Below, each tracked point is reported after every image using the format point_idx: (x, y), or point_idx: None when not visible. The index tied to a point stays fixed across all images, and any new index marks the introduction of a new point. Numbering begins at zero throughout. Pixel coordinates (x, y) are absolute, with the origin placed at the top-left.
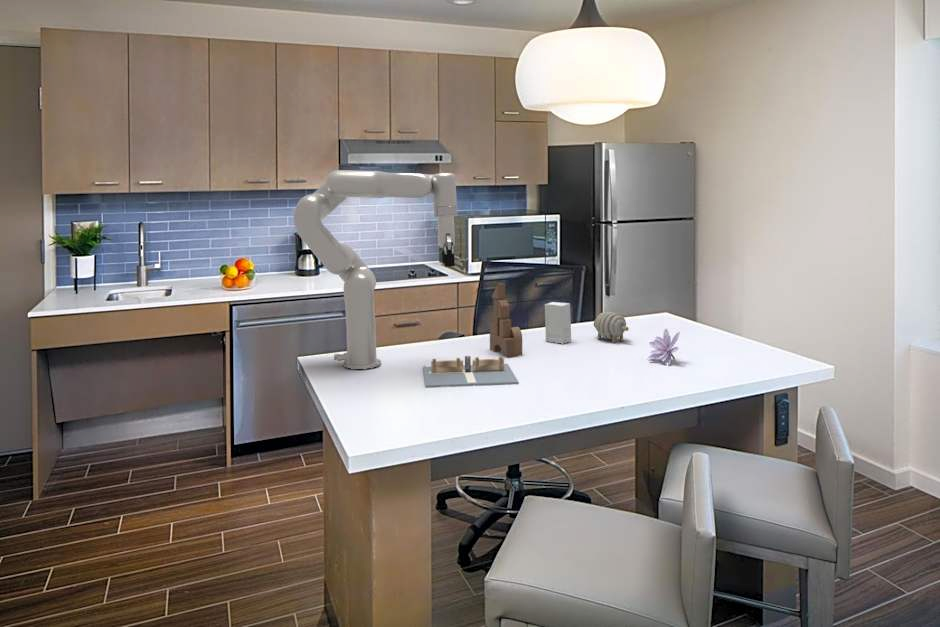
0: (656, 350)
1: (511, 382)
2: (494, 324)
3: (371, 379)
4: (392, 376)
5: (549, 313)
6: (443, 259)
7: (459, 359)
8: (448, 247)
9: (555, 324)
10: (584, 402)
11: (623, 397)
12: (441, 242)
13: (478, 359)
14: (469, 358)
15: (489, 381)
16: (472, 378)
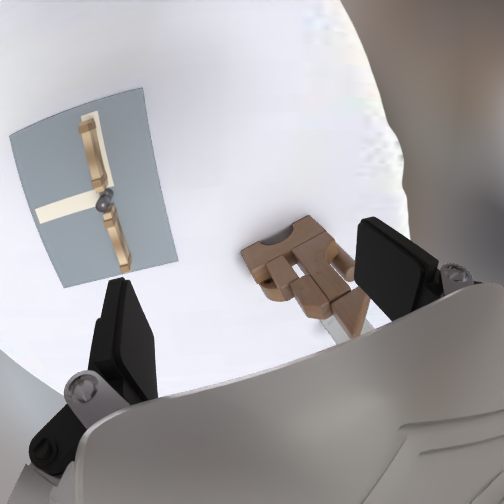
0: None
1: (59, 278)
2: (313, 254)
3: (62, 12)
4: (80, 42)
5: (360, 334)
6: (374, 239)
7: (92, 187)
8: (34, 464)
9: (343, 330)
10: (27, 352)
11: (61, 382)
12: (74, 502)
13: (105, 226)
14: (98, 209)
15: (52, 244)
16: (60, 212)
